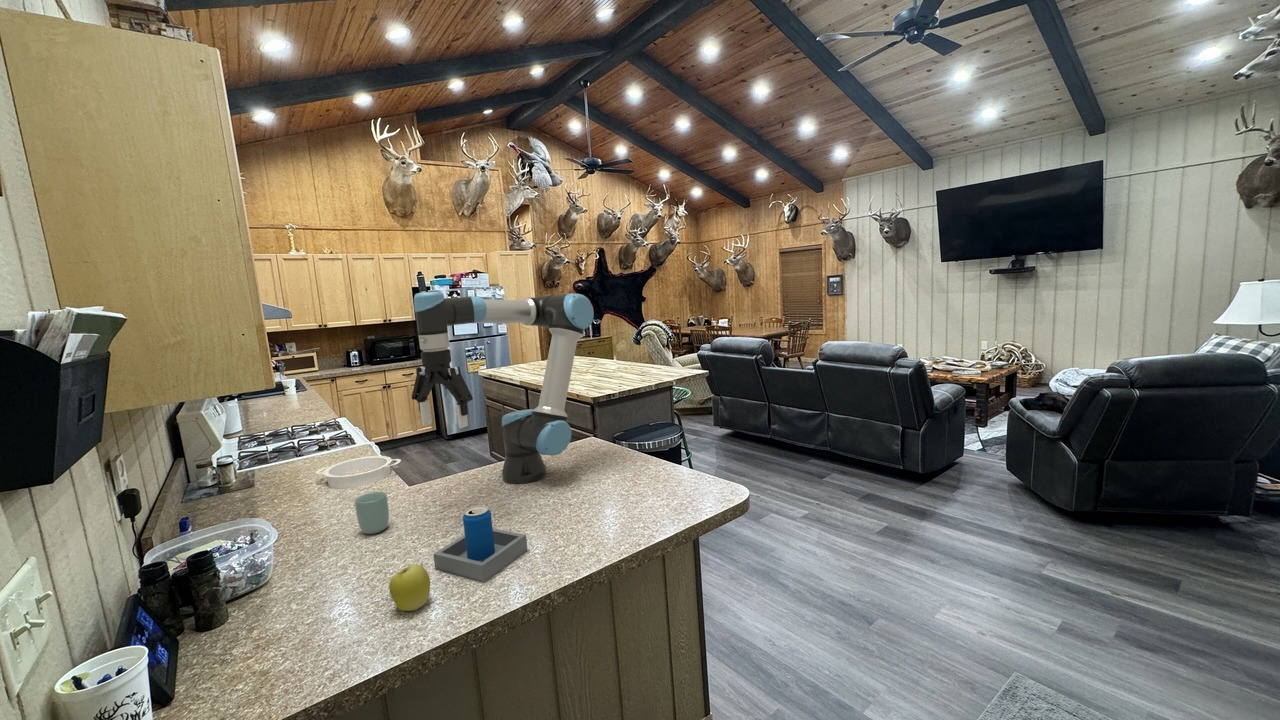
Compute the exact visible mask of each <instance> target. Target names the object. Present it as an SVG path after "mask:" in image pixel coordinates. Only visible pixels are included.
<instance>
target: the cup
mask: <svg viewBox="0 0 1280 720" xmlns="http://www.w3.org/2000/svg"><path fill="white" fill-rule="evenodd" d="M354 507H355V513H356V518H357V519H356V520H357V523H358V527H359V529H360V530H361V531H362V532H363V533H364V534H367V535H374V534H378V533H381V532H383V531H384V530H385V529H386V528H387V527H388V525H389V521H390V509H389V501H388V495H387V493H386V492H385V491H371V492H367V493H364V494H362V495H359V496H357V498H355V499H354Z"/></svg>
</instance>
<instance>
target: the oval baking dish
mask: <svg viewBox="0 0 1280 720" xmlns="http://www.w3.org/2000/svg"><path fill="white" fill-rule="evenodd" d="M393 461H396V462H395V463H392V462H393ZM401 461H402V460H401V459H400V458H396V459H395V458H394V459H392V457H389V456H385V455H371V456H370V455H369V456H362V457H357V458H350V459H348V460H344V461H340V462H338V463H335V464H333V465H331V466H330V465H329V466H324V467H320V468H319V469H317V470H316V471H315V474H317V475H318V474H319V475H323V476H325V477H326V479H327V485H328V487H330V488H333V489H350V488H357V487H362V486H367V485H370V484H374V483H376V482H379V481H381V480H383V479H385V478H387V477H388V476H389V475H391V466H396V465H398V464H399V463H400V462H401ZM324 469H325V470H324ZM365 470H369V471H365ZM321 471H323V472H321ZM357 471H365V472H360V473H355V474H350V473H353V472H357ZM347 474H349V475H347Z"/></svg>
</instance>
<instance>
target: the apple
mask: <svg viewBox="0 0 1280 720" xmlns="http://www.w3.org/2000/svg"><path fill="white" fill-rule="evenodd" d="M388 589H389V594H390V597H391V598H392V601H393V603H394V604H395V606H396V607H397V608H398V609H399V610H400V611H402V612H411V611H416V610H419V609H420V608H421V607H423V606H424V605H425V604H426V602H427V601H428V599H429V597H430V592H431V578H430V576H429V573H428V571H427V569H425V567H424V566H422V565H420V564H412V565H409V566H406V567H404V568H403V569H401V570H400V571H398V572H396V574H394V575H393V576H392V577H391V578H390V581H389V585H388Z"/></svg>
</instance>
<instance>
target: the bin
mask: <svg viewBox="0 0 1280 720" xmlns="http://www.w3.org/2000/svg"><path fill="white" fill-rule="evenodd" d="M492 528H493V537H494V547H495V553H494V554H493V555H492V556H490V557H489V558H487V559H486V560H485V561H483V562H479V561H475V560H471V559H468V558H467V550H466V542H465V534H464V535H462V536H460V537H458V538H457V539H456V540H453V541H452V542H450V543H449V544H447V545H445V546H444V547H443V548H440V549H439V550H438V551H435V552H433V562H434V569H435V570H436V571H438V570H439V571H438V572H442V571H443V572H442V573H446V572H447V574H451V575H455V576H458V577H462V578H466V579H470V580H473V581H476V582H480V583H486V582H487V581H489V580H490V579H491V578H493V577H494V576H495V575H496V574H498V573H499V572H501V571H502V570H503V569H504V568H505V567H507V566H508V565H510V564H511V563H512V562H514V561H515V560H516V559H517V558H519V557H521V555H523V554H524V553H526V552H527V551H528V542H527V535H526V534H524V533H523V534H522V533H517V532H512V531H507V530H503V529H498V528H494V527H492Z"/></svg>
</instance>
